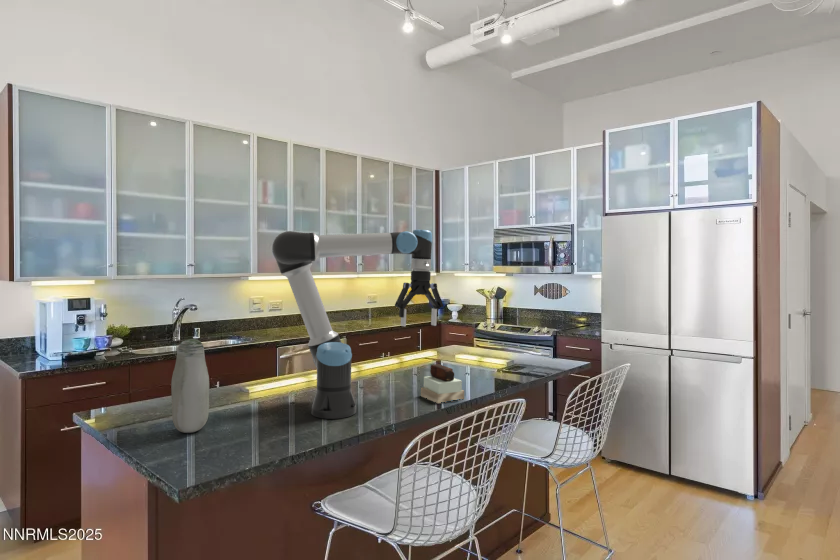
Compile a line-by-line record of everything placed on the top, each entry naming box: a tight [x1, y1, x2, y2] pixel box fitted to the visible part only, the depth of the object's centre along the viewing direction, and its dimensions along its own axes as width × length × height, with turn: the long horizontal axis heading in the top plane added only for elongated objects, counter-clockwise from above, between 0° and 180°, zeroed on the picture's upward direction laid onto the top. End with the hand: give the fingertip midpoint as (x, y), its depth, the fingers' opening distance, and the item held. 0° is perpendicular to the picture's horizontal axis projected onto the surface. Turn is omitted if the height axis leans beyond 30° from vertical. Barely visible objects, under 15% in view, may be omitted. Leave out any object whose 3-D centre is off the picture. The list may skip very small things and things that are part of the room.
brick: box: [429, 363, 455, 381], centre depth 200 cm, size 11×4×5 cm, turn 33°
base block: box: [420, 386, 465, 404], centre depth 200 cm, size 12×12×4 cm
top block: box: [423, 375, 463, 394], centre depth 200 cm, size 10×12×4 cm
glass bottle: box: [170, 338, 210, 434], centre depth 157 cm, size 10×10×28 cm
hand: (418, 325), depth 199 cm, fingers open, 13 cm apart
